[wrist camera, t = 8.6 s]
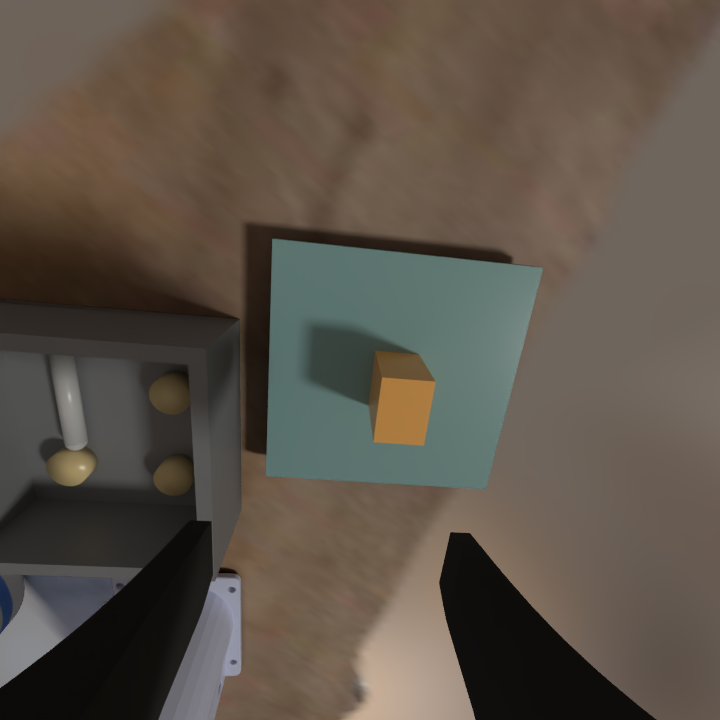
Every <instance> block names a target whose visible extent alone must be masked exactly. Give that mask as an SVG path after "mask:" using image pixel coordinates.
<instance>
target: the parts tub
mask: <svg viewBox="0 0 720 720" xmlns="http://www.w3.org/2000/svg"><path fill="white" fill-rule="evenodd" d="M240 511H241V418H240V319H231V318H219V317H208V316H196V315H184V314H172V313H160V312H148V311H136V310H124V309H112V308H100V307H88V306H76V305H64V304H53V303H41V302H29V301H17V300H5V299H0V574H8V575H37V576H67V577H96V578H125V579H133V578H134V577H135V576H136V575H137V574H138V573H139V572H140V571H141V570H142V569H143V568H144V567H145V566H146V565H147V564H148V563H149V562H150V561H151V560H152V559H153V558H154V557H155V556H156V555H157V554H158V553H159V552H160V551H161V550H162V549H163V548H164V546H165V545H166V544H167V543H168V542H169V541H170V540H171V539H172V538H173V537H174V536H175V535H176V534H177V533H178V532H179V531H180V530H181V528H182V527H183V526H184V525H185V524H186V523H187V522H189V521H190V520H197V521H212V554H213V577H212V580H211V581H214V582H215V580H216V578H217V575H218V572H219V569H220V567H221V564H222V561H223V558H224V556H225V553H226V550H227V547H228V545H229V542H230V539H231V536H232V534H233V531H234V528H235V525H236V522H237V520H238V517H239V514H240Z"/></svg>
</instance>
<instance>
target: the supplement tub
mask: <svg viewBox="0 0 720 720" xmlns="http://www.w3.org/2000/svg"><path fill="white" fill-rule="evenodd" d="M23 597H24V579H23V576H22V575H8V574H0V634H1V632H2V631H3V630H4V629H5V627H6V626H7V625H8V624H9V623H10V621H11V620H12V619H13V618H14V616H15V615H16V614H17V612H18V610H19V609H20V606H21V604H22V601H23Z"/></svg>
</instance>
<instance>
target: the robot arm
mask: <svg viewBox="0 0 720 720" xmlns="http://www.w3.org/2000/svg"><path fill="white" fill-rule="evenodd" d="M212 577H213V554H212V521H197V520H190V521H189V522H187V523H186V524H185V525H184V526H183V527H182V528H181V530H180V531H179V532H178V533H177V534H176V535H175V536H174V537H173V538H172V539H171V540H170V541H169V542H168V543H167V544H166V545H165V546H164V548H163V549H162V550H161V551H160V552H159V553H158V554H157V555H156V556H155V557H154V558H153V559H152V560H151V561H150V562H149V563H148V564H147V565H146V566H145V567H144V568H143V569H142V570H141V571H140V572H139V573H138V574H137V575H136V576H135V577H134V578H133V579H125V578H112V579H111V580H112V586H113V592H114V596H113V597H112V598H111V599H110V600H109V601H108V602H107V603H106V604H105V605H103V606H102V607H101V608H100V609H99V610H98V611H97V612H96V613H95V614H93V615H92V616H91V617H90V618H89V619H88V620H87V621H85V622H84V623H83V624H82V625H81V626H80V627H78V628H77V629H76V630H75V631H74V632H72V633H71V634H70V635H69V636H67V637H66V638H65V639H64V640H63V641H61V642H60V643H59V644H58V645H56V646H55V647H54V648H53V649H52V650H50V651H49V652H48V653H46V654H45V655H44V656H42V657H41V658H40V659H38V660H37V661H36V662H35V663H33V664H32V665H31V666H29V667H28V668H27V669H25V670H24V671H23V672H21V673H20V674H19V675H18V676H16V677H15V678H13V679H12V680H11V681H9V682H8V683H7V684H5V685H4V686H2V687H1V688H0V720H214V718H215V714H216V710H217V706H218V703H219V699H220V695H221V691H222V687H223V683H224V680H225V676H236V675H238V674H239V673H240V672H241V667H242V646H241V578H240V577H239V576H238V575H237V574H231V573H218V575H217V578H216V580H215V582H214V581H211V580H212ZM439 584H440V589H441V595H442V601H443V606H444V611H445V616H446V621H447V624H448V628H449V631H450V635H451V638H452V642H453V645H454V648H455V652H456V655H457V658H458V662H459V665H460V668H461V672H462V675H463V678H464V681H465V685H466V688H467V692H468V695H469V698H470V701H471V705H472V708H473V711H474V716H475V719H476V720H656V719H655V718H653V717H652V716H651V715H649V714H648V713H647V712H646V711H645V710H643V709H642V708H641V707H639V706H638V705H637V704H636V703H635V702H634V701H632V700H631V699H630V698H629V697H628V696H626V695H625V694H624V693H623V692H622V691H620V690H619V689H618V688H617V687H616V686H615V685H613V684H612V683H611V682H610V681H609V680H607V679H606V678H605V677H604V676H603V675H602V674H601V673H599V672H598V671H597V670H596V669H595V668H594V667H593V666H592V665H591V664H589V663H588V662H587V661H586V660H585V659H584V658H583V657H582V656H581V655H580V654H579V653H578V652H577V651H576V650H574V649H573V648H572V647H571V646H570V645H569V644H568V643H567V642H566V641H565V640H564V639H563V638H562V637H561V636H560V635H559V634H558V633H557V632H556V631H555V630H554V629H553V628H552V627H551V626H550V625H549V624H548V623H547V622H546V621H545V620H544V619H543V618H542V617H541V615H540V614H539V613H538V612H537V611H536V610H535V609H534V608H533V607H532V606H531V605H530V604H529V603H528V601H527V600H526V599H525V598H524V597H523V596H522V595H521V594H520V592H519V591H518V590H517V589H516V588H515V587H514V586H513V585H512V583H511V582H510V581H509V580H508V579H507V577H506V576H505V575H504V574H503V573H502V572H501V571H500V569H499V568H498V567H497V566H496V564H494V562H493V561H492V560H491V559H490V557H489V556H488V555H487V553H486V552H485V551H484V550H483V549H482V547H481V546H480V545H479V544H478V543H477V541H476V540H475V539H474V538H473V537H472V535H471V534H470V533H454V532H451V533H450V537H449V542H448V546H447V550H446V555H445V559H444V564H443V568H442V573H441V577H440V582H439Z"/></svg>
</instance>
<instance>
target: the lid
mask: <svg viewBox="0 0 720 720" xmlns="http://www.w3.org/2000/svg"><path fill="white" fill-rule="evenodd" d="M542 271H543V268H541V267H536V266H528V265H519V264H510V263H500V262H491V261H482V260H472V259H463V258H454V257H445V256H435V255H426V254H417V253H407V252H398V251H389V250H379V249H370V248H361V247H352V246H342V245H333V244H324V243H314V242H305V241H296V240H286V239H277V238H274V239H272V270H271V307H270V345H269V383H268V420H267V458H266V476H274V477H291V478H307V479H324V480H340V481H357V482H373V483H390V484H406V485H423V486H439V487H456V488H473V489H486V487H487V483H488V479H489V475H490V471H491V467H492V464H493V460H494V456H495V452H496V448H497V444H498V440H499V437H500V432H501V428H502V425H503V421H504V417H505V413H506V410H507V406H508V402H509V398H510V394H511V390H512V386H513V383H514V379H515V375H516V371H517V367H518V363H519V359H520V356H521V352H522V348H523V344H524V340H525V336H526V332H527V328H528V325H529V321H530V317H531V313H532V309H533V305H534V301H535V298H536V294H537V290H538V286H539V282H540V278H541V274H542Z"/></svg>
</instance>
